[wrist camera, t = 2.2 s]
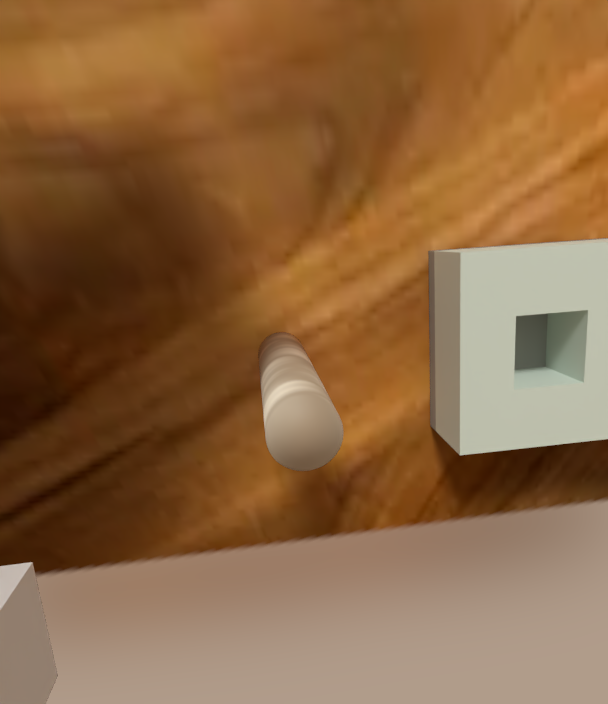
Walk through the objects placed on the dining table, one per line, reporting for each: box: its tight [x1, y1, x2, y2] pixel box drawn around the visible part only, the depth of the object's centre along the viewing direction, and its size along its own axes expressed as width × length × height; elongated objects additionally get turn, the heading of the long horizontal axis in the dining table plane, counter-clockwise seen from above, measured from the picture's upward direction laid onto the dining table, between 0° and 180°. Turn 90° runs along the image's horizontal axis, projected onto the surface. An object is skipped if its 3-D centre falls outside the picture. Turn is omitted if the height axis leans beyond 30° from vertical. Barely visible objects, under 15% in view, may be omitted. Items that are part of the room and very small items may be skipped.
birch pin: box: [258, 332, 343, 471], centre depth 26 cm, size 3×3×14 cm
